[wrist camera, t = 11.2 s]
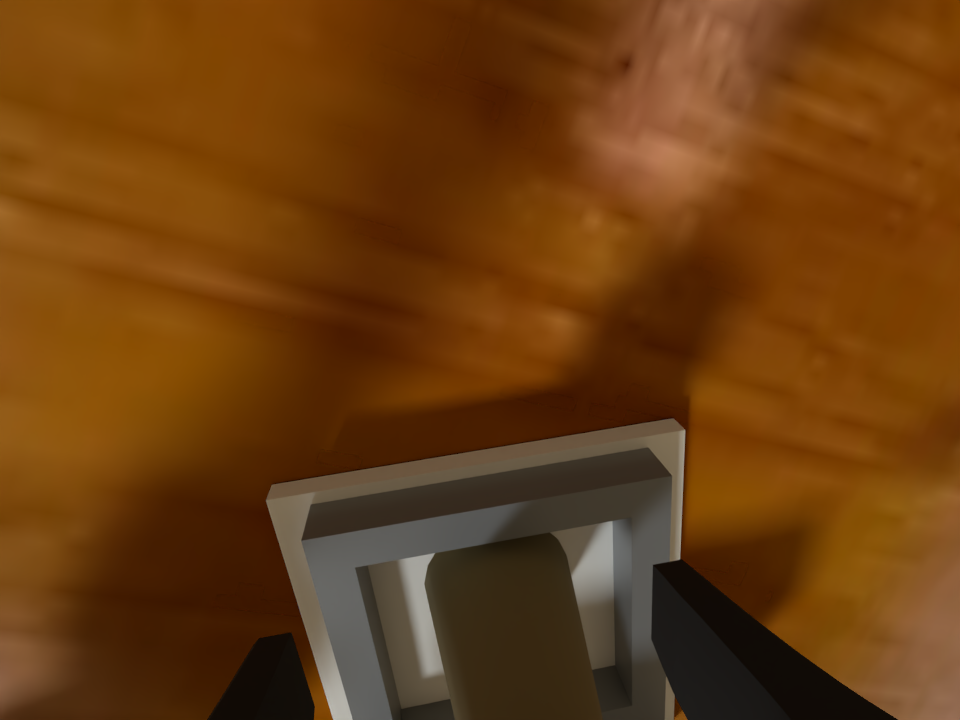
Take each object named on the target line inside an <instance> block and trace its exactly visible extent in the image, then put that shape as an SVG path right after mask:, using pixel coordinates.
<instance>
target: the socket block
mask: <svg viewBox="0 0 960 720" xmlns="http://www.w3.org/2000/svg"><path fill="white" fill-rule="evenodd" d="M684 452H685V429H684V428H683V427H682V426H681V425H680V424H679V423H678V422H677V421H676V420H675V419H674V418H672V419H666V420H660V421H653V422H647V423H641V424H635V425H629V426H623V427H617V428H611V429H605V430H599V431H593V432H587V433H581V434H575V435H569V436H563V437H557V438H551V439H545V440H539V441H533V442H527V443H520V444H514V445H508V446H502V447H496V448H490V449H484V450H478V451H472V452H466V453H460V454H454V455H448V456H442V457H436V458H430V459H424V460H418V461H412V462H406V463H400V464H394V465H388V466H381V467H375V468H369V469H363V470H357V471H351V472H345V473H339V474H333V475H327V476H321V477H315V478H309V479H303V480H297V481H291V482H285V483H279V484H273V485H272V486H271V488H270V491H269V493H268V496H267V498H266V503H267V506H268V509H269V513H270V516H271V519H272V522H273V526H274V529H275V532H276V535H277V539H278V542H279V545H280V548H281V552H282V555H283V558H284V561H285V565H286V568H287V571H288V574H289V578H290V581H291V584H292V587H293V591H294V594H295V597H296V600H297V604H298V607H299V610H300V613H301V617H302V620H303V623H304V626H305V629H306V633H307V636H308V639H309V642H310V646H311V649H312V652H313V655H314V659H315V662H316V665H317V668H318V672H319V675H320V678H321V681H322V685H323V688H324V691H325V694H326V698H327V701H328V704H329V707H330V711H331V714H332V717H333V720H455V717H454V713H453V709H452V704H451V700H450V695H449V691H448V687H447V682H446V678H445V674H444V669H443V665H442V661H441V656H440V652H439V647H438V643H437V639H436V634H435V630H434V626H433V621H432V617H431V612H430V608H429V604H428V599H427V595H426V590H425V585H424V583H425V577H426V572H427V567H428V564H429V563H430V561H431V559H432V558H433V556H434V554H435V553H438V552H444V551H449V550H455V549H461V548H466V547H472V546H477V545H483V544H488V543H494V542H499V541H505V540H510V539H516V538H521V537H527V536H532V535H538V534H543V533H549V532H550V533H551V534H552V535H554V536H555V537H556V538H557V539H558V540H559V542H560V544H561V546H562V547H563V549H564V551H565V553H566V555H567V559H568V564H569V568H570V573H571V577H572V582H573V586H574V591H575V595H576V600H577V604H578V609H579V613H580V618H581V622H582V627H583V631H584V636H585V640H586V645H587V650H588V654H589V659H590V663H591V668H592V672H593V677H594V681H595V686H596V690H597V695H598V699H599V704H600V708H601V713H602V717H603V720H674V700H675V695H674V693H673V691H672V688H671V686H670V684H669V681H668V679H667V677H666V674H665V672H664V670H663V667H662V665H661V662H660V660H659V657H658V655H657V652H656V650H655V647H654V645H653V642H652V640H651V624H652V578H653V565H654V564H660V563H665V562H670V561H676V560H680V551H681V526H682V501H683V477H684Z"/></svg>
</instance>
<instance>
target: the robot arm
mask: <svg viewBox="0 0 960 720" xmlns="http://www.w3.org/2000/svg"><path fill="white" fill-rule="evenodd" d="M651 640H652V642H653V645H654V647H655V650H656V652H657V655H658V657H659V660H660V662H661V665H662V667H663V670H664V672H665V674H666V677H667V679H668V681H669V684H670V686H671V688H672V691H673V693H674V695H675V697H676V699H677V701H678V702H679V704H680V706H681V708H682V710H683V712H684V714H685V715H686V717H687V719H688V720H898V719H896V718H894V717H893V716H891V715H890V714H888V713H886V712H885V711H883V710H882V709H880V708H878V707H877V706H875V705H874V704H872V703H870V702H869V701H867V700H866V699H864V698H863V697H861V696H860V695H858V694H857V693H855V692H854V691H852V690H851V689H849V688H848V687H846V686H845V685H843V684H842V683H840V682H839V681H838V680H836V679H835V678H833V677H832V676H831V675H829V674H828V673H826V672H825V671H823V670H822V669H821V668H819V667H818V666H816V665H815V664H814V663H812V662H811V661H809V660H808V659H807V658H805V657H804V656H803V655H801V654H800V653H799V652H797V651H796V650H794V649H793V648H792V647H790V646H789V645H788V644H787V643H785V642H784V641H783V640H781V639H780V638H779V637H777V636H776V635H775V634H774V633H772V632H771V631H770V630H768V629H767V628H766V627H764V626H763V625H762V624H760V623H759V622H758V621H757V620H755V619H754V618H753V617H752V616H750V615H749V614H748V613H747V612H745V611H744V610H743V609H742V608H740V607H739V606H738V605H737V604H735V603H734V602H733V601H732V600H730V599H729V598H728V597H727V596H726V595H724V594H723V593H722V592H721V591H719V590H718V589H717V588H716V587H715V586H713V585H712V584H711V583H710V582H709V581H707V580H706V579H705V578H704V577H703V576H701V575H700V574H699V573H698V572H697V571H695V570H694V569H693V568H692V567H690V566H689V565H688V564H687V563H685V562H684V561H683V560H682V559H681V560H676V561H670V562H665V563H660V564H654V565H653V578H652V624H651ZM314 708H315V706H314V703H313V700H312V696H311V693H310V690H309V687H308V684H307V681H306V677H305V674H304V671H303V668H302V665H301V661H300V658H299V655H298V652H297V649H296V645H295V642H294V639H293V636H292V633H285V634H280V635H275V636H269V637H264V638H259V639H258V640H257V641H256V643H255V644H254V645H253V647H252V649H251V650H250V652H249V653H248V655H247V657H246V658H245V660H244V662H243V663H242V665H241V667H240V668H239V670H238V671H237V673H236V675H235V676H234V678H233V680H232V681H231V683H230V685H229V686H228V688H227V689H226V691H225V693H224V694H223V696H222V697H221V699H220V701H219V702H218V704H217V705H216V707H215V708H214V710H213V712H212V713H211V715H210V716H209V718H208V719H207V720H314Z"/></svg>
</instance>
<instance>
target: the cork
mask: <svg viewBox="0 0 960 720" xmlns="http://www.w3.org/2000/svg"><path fill="white" fill-rule="evenodd" d="M424 585H425V590H426V595H427V599H428V604H429V608H430V612H431V617H432V621H433V626H434V630H435V634H436V639H437V643H438V647H439V652H440V656H441V661H442V665H443V669H444V674H445V678H446V682H447V687H448V691H449V695H450V700H451V704H452V709H453V713H454V717H455V720H603V717H602V713H601V708H600V704H599V699H598V695H597V690H596V686H595V681H594V677H593V672H592V668H591V663H590V659H589V654H588V650H587V645H586V640H585V636H584V631H583V627H582V622H581V618H580V613H579V609H578V604H577V600H576V595H575V591H574V586H573V582H572V577H571V573H570V568H569V564H568V559H567V555H566V553H565V551H564V549H563V547H562V546H561V544H560V542H559V540H558V539H557V538H556V537H555V536H554V535H552V534H551V533H550V532H549V533H543V534H538V535H532V536H527V537H521V538H516V539H510V540H505V541H499V542H494V543H488V544H483V545H477V546H472V547H466V548H461V549H455V550H449V551H444V552H438V553H435V554H434V556H433V558H432V559H431V561H430V563H429V564H428V567H427V572H426V577H425V583H424Z"/></svg>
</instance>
